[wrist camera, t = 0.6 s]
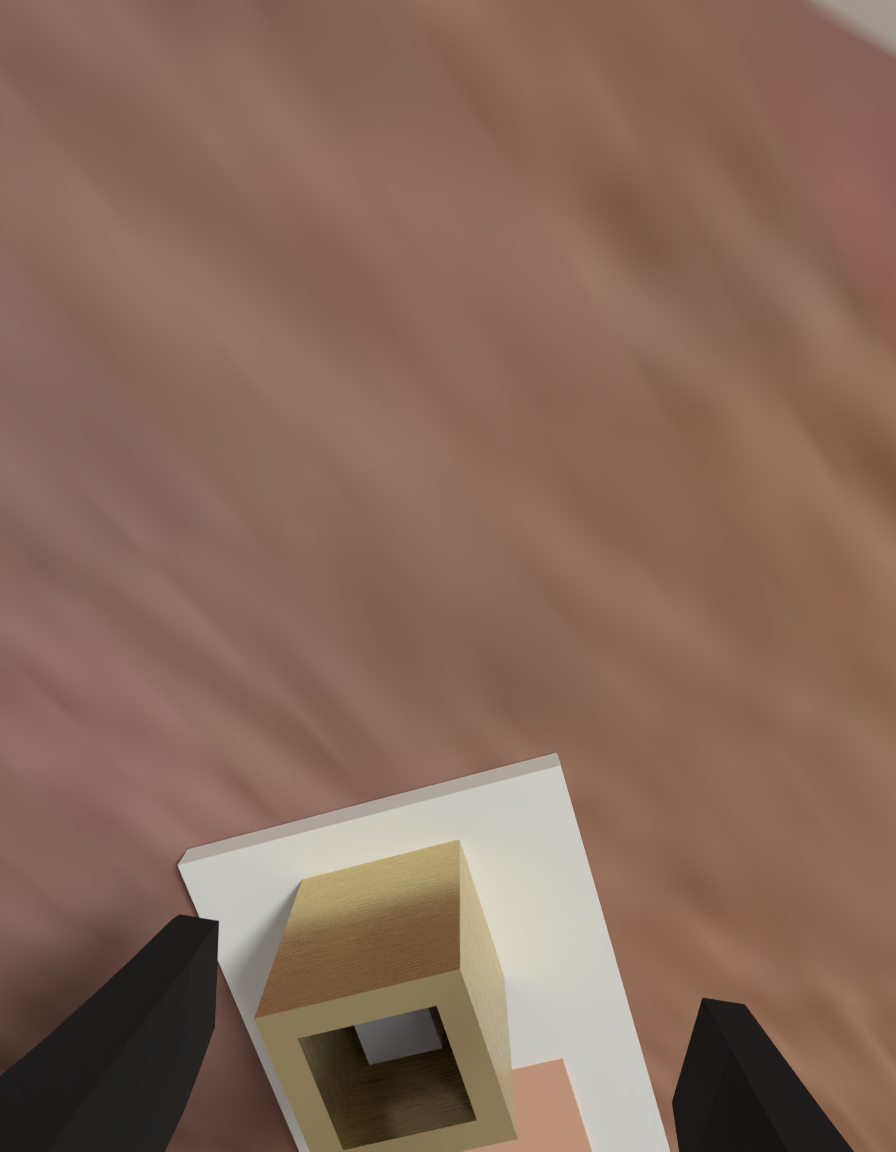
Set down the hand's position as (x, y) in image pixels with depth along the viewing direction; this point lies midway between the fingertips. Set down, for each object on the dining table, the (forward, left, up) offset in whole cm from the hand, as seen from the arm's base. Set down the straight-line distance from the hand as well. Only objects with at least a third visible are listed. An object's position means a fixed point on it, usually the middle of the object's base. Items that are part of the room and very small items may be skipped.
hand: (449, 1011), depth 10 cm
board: (-3, -11, -11) cm, 16 cm away
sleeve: (-3, -6, -10) cm, 12 cm away
